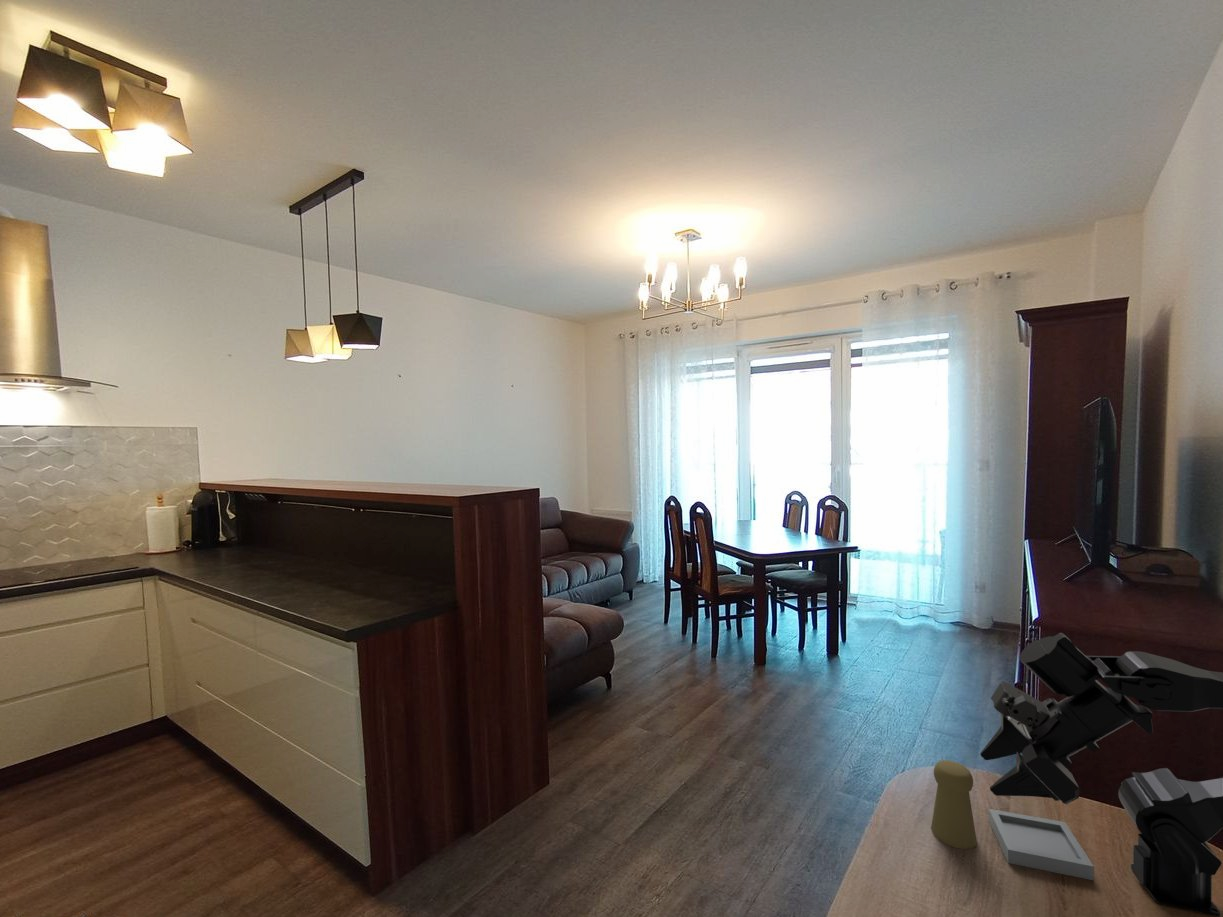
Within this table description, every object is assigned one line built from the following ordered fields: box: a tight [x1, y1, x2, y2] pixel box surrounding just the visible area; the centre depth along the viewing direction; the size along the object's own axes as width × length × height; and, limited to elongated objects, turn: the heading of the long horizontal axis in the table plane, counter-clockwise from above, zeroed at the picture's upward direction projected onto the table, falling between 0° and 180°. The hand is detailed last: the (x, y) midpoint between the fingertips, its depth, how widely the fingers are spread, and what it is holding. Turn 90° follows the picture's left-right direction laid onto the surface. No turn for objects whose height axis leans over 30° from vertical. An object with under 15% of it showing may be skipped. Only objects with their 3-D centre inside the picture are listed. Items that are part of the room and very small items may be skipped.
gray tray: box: [988, 808, 1095, 881], centre depth 81 cm, size 10×9×2 cm
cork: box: [930, 759, 978, 850], centre depth 84 cm, size 6×6×11 cm
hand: (987, 773), depth 82 cm, fingers open, 9 cm apart
